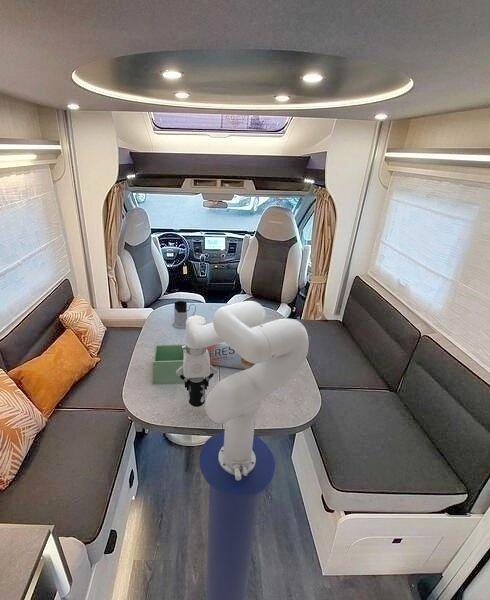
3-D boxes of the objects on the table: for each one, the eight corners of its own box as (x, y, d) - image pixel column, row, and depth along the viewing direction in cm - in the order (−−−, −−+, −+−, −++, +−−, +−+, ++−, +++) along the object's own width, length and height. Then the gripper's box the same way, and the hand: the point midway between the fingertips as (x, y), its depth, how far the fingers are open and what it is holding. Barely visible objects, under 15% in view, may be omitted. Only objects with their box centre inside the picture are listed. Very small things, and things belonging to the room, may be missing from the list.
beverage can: (198, 410, 121) (197, 384, 117) (185, 403, 125) (184, 378, 120) (208, 401, 126) (208, 376, 121) (195, 394, 130) (195, 370, 125)
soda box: (191, 363, 159) (191, 341, 154) (196, 349, 172) (197, 328, 167) (272, 373, 153) (275, 351, 148) (272, 358, 166) (274, 336, 161)
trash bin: (185, 382, 145) (185, 361, 141) (153, 383, 144) (152, 362, 140) (185, 364, 159) (184, 344, 154) (156, 365, 158) (155, 345, 153)
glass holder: (172, 322, 201) (172, 301, 195) (194, 320, 205) (194, 299, 199) (175, 328, 193) (174, 306, 187) (197, 326, 197) (197, 304, 191)
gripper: (172, 354, 112) (174, 395, 118) (220, 352, 113) (219, 393, 120) (173, 344, 119) (174, 383, 125) (218, 342, 120) (217, 381, 127)
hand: (196, 387), depth 123 cm, fingers closed on beverage can, 6 cm apart
